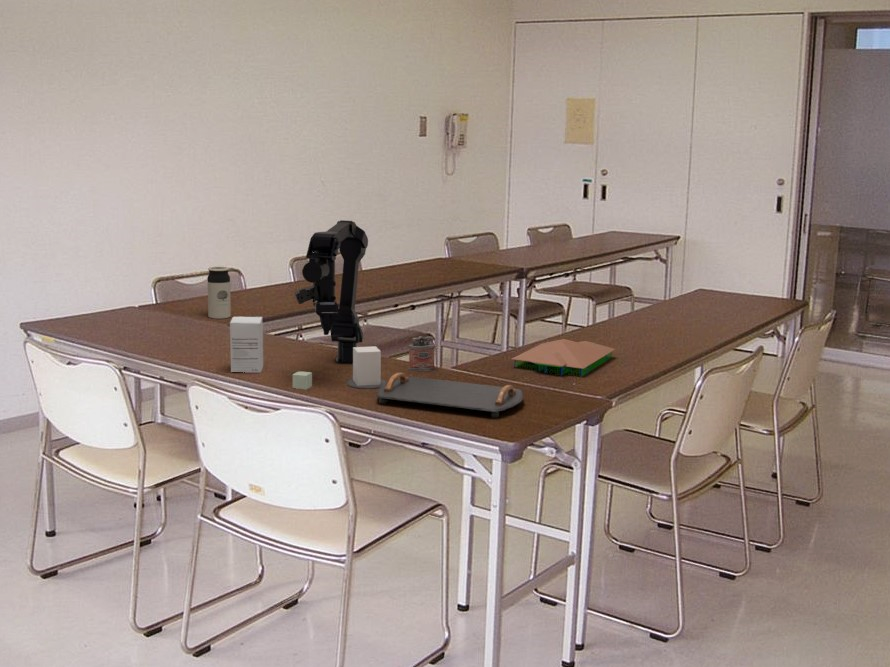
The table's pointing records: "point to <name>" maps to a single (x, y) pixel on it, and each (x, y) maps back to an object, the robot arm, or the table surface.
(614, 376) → the table surface
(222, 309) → the travel mug
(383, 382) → the mat
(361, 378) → the white upright block
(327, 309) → the robot arm
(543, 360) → the house
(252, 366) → the supplement box
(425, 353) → the lighter
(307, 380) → the block
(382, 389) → the serving board
